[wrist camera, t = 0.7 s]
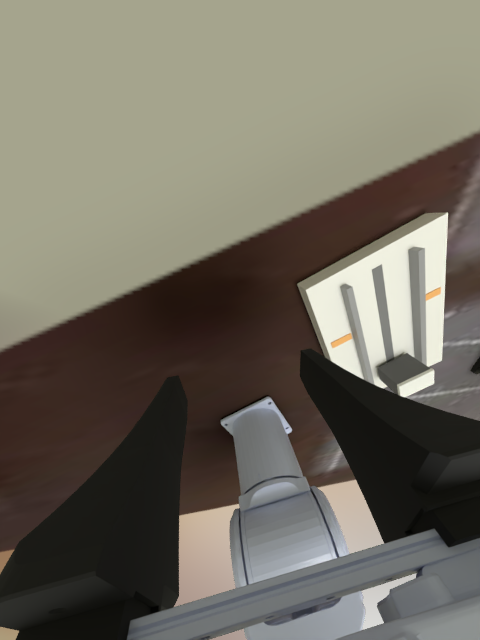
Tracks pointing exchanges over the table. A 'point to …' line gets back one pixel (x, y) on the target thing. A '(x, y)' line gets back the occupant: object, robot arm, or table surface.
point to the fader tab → (406, 375)
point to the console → (383, 300)
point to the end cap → (476, 367)
